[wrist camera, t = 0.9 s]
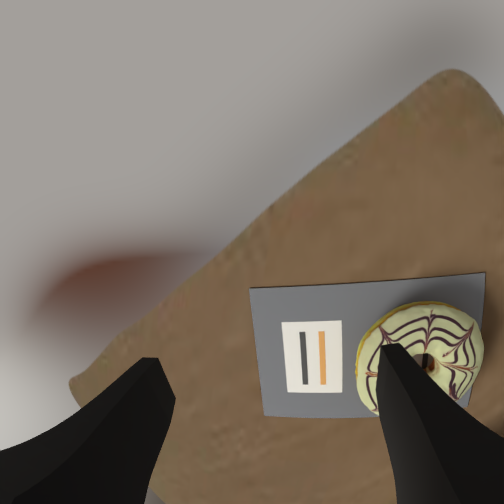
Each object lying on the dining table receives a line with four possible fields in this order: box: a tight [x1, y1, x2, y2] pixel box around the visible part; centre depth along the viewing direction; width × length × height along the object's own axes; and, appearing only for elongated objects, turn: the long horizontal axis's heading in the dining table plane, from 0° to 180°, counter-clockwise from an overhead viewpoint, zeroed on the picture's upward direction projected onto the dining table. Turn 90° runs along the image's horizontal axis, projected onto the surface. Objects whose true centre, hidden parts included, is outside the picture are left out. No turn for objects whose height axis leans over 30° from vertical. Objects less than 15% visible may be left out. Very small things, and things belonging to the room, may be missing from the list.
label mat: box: [249, 273, 485, 418], centre depth 25 cm, size 13×20×1 cm, turn 97°
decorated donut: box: [355, 301, 484, 415], centre depth 22 cm, size 10×11×4 cm
